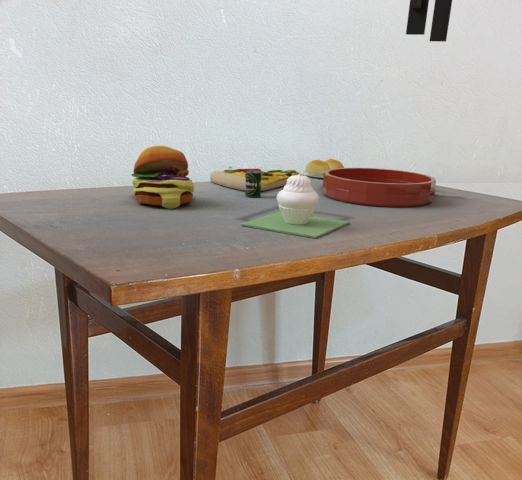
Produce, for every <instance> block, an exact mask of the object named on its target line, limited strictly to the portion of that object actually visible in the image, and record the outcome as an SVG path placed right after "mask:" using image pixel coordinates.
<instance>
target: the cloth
mask: <svg viewBox="0 0 522 480" xmlns="http://www.w3.org/2000/svg"><path fill="white" fill-rule="evenodd" d="M350 222H351V221H348V220H341V219H334V218H329V217H328V218H327V217H321V216H314V215H312V216H311V217H310V219H309V221H308V222H307V224H303V225H294V224H289V223H286V222H285V220H284V217H283V215H282V213H281V211H280V210H279V211H277V212H273V213H269V214H267V215H264V216H261V217H258V218H254V219H251V220H248V221H245V222H242V223H240V226H241V227H246V228H252V229H258V230H264V231H270V232H276V233H282V234H287V235H293V236H300V237H305V238H311V239H318V238H321V237H323V236H325V235H328V234H330V233H332V232H334V231H336V230H338V229H341V228H343V227H345V226H347V225H350Z"/></svg>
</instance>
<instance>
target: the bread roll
mask: <svg viewBox="0 0 522 480" xmlns="http://www.w3.org/2000/svg"><path fill="white" fill-rule="evenodd" d="M337 168H345V166H344V164H343V163H342V162H341V161H340V160H337V159H334V158H329V159H326V160H325V161H324V160H320V159H315V160H311V161H309V162H308V163H307V164H306V166H305V167H304V171H303V172H304V174H306V177H308V178H309V179H312V180H313V179H314V180H319V181H321V180H322V181H323V177H324V172H325V171H326V170H330V169H337Z"/></svg>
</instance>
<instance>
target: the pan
mask: <svg viewBox="0 0 522 480" xmlns="http://www.w3.org/2000/svg"><path fill="white" fill-rule="evenodd" d="M322 178H323V180H322V188H321V190H322V191H321V192H322V193H323V194H324V195H325V197H327V198H330V199H333V200H335V201H339V202H343V203H348V204H355V205H360V206H361V205H362V206H370V207H383V208H387V207H388V208H409V207H411V208H412V207H420V206H424V205H428V204H429V203H431V202H433V201H434V199H435V198H434V197H435V191H436V183H437V179H436V177H433V176H431V175H429V174H428V175H427V174H424V173H421V172H420V173H419V172H413V171H408V170H398V169H390V168H376V167H344V168H337V169H330V170H326V171H325V172H324V176H322Z"/></svg>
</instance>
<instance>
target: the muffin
mask: <svg viewBox="0 0 522 480" xmlns="http://www.w3.org/2000/svg"><path fill="white" fill-rule="evenodd" d="M300 174H301V173H300ZM300 174H299V175H294V176H291V177H289V178H288V179H287V184H286V185H285V186H283V188H282V189H281V190H280V191H279V192H278V193H277V195H276V201H277V203H278V205H277V206H278V208H279V211H281V213H282V215H283V217H284V220H285V222H286V223H289V224H294V225H303V224H307V222H308V221H309V219H310V217H311V216H313V214H314V212H315V211H316V209H317V206H318V204H319V202H320V196H319V195H318V192H317V191H315V190H314V187H313V186H312V181H311V178H309V177H307V175H304V176H302V175H300Z"/></svg>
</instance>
